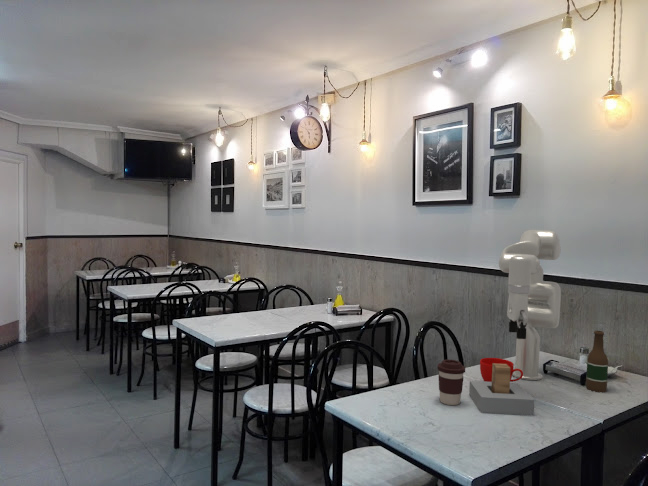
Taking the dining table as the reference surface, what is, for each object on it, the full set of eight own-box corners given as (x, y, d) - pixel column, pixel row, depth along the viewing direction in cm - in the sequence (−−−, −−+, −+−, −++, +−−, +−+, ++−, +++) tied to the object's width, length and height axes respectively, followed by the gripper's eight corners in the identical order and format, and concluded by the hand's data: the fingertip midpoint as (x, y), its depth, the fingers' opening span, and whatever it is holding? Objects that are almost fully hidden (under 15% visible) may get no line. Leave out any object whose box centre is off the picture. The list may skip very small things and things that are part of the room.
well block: (469, 394, 191) (469, 380, 191) (516, 397, 190) (517, 383, 190) (480, 412, 173) (481, 397, 173) (533, 415, 172) (534, 399, 172)
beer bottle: (611, 393, 198) (614, 333, 197) (591, 392, 198) (594, 333, 197) (600, 386, 205) (603, 329, 204) (581, 386, 206) (584, 328, 204)
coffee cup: (464, 408, 177) (466, 366, 176) (436, 405, 179) (438, 364, 178) (462, 398, 186) (464, 359, 186) (435, 396, 188) (437, 357, 188)
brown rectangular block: (490, 400, 184) (492, 363, 184) (504, 401, 184) (506, 363, 183) (494, 405, 179) (496, 367, 179) (508, 406, 179) (510, 367, 178)
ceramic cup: (517, 396, 191) (518, 370, 190) (474, 386, 201) (475, 362, 201) (526, 388, 201) (527, 363, 201) (485, 379, 211) (486, 355, 211)
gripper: (502, 285, 191) (500, 329, 192) (515, 293, 174) (513, 341, 175) (522, 286, 190) (520, 330, 192) (537, 293, 173) (535, 341, 174)
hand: (517, 335), depth 183 cm, fingers open, 9 cm apart
